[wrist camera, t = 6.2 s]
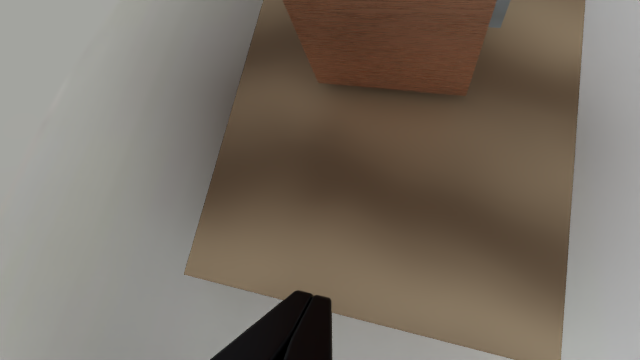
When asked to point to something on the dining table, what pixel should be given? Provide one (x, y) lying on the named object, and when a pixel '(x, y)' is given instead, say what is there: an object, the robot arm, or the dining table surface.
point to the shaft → (393, 42)
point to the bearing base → (407, 187)
